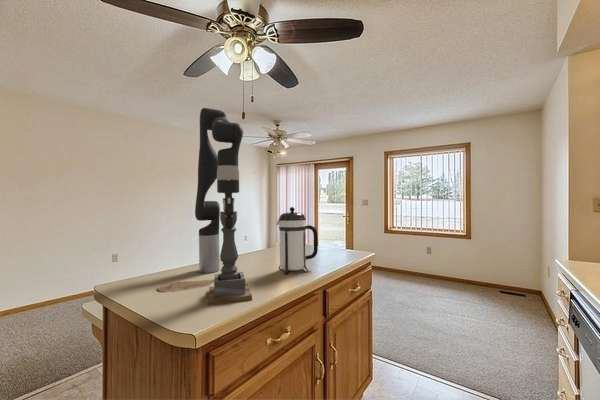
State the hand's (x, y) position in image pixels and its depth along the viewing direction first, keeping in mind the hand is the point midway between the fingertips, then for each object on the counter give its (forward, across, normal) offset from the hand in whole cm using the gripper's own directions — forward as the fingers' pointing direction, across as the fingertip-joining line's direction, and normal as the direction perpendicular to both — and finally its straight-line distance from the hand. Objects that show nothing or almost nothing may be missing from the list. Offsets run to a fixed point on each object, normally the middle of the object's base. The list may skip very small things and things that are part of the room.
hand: (228, 227), depth 97 cm
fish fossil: (+25, -17, -13) cm, 33 cm away
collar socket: (+24, 0, 0) cm, 24 cm away
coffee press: (+24, -26, +31) cm, 47 cm away
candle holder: (+20, 0, 0) cm, 20 cm away
